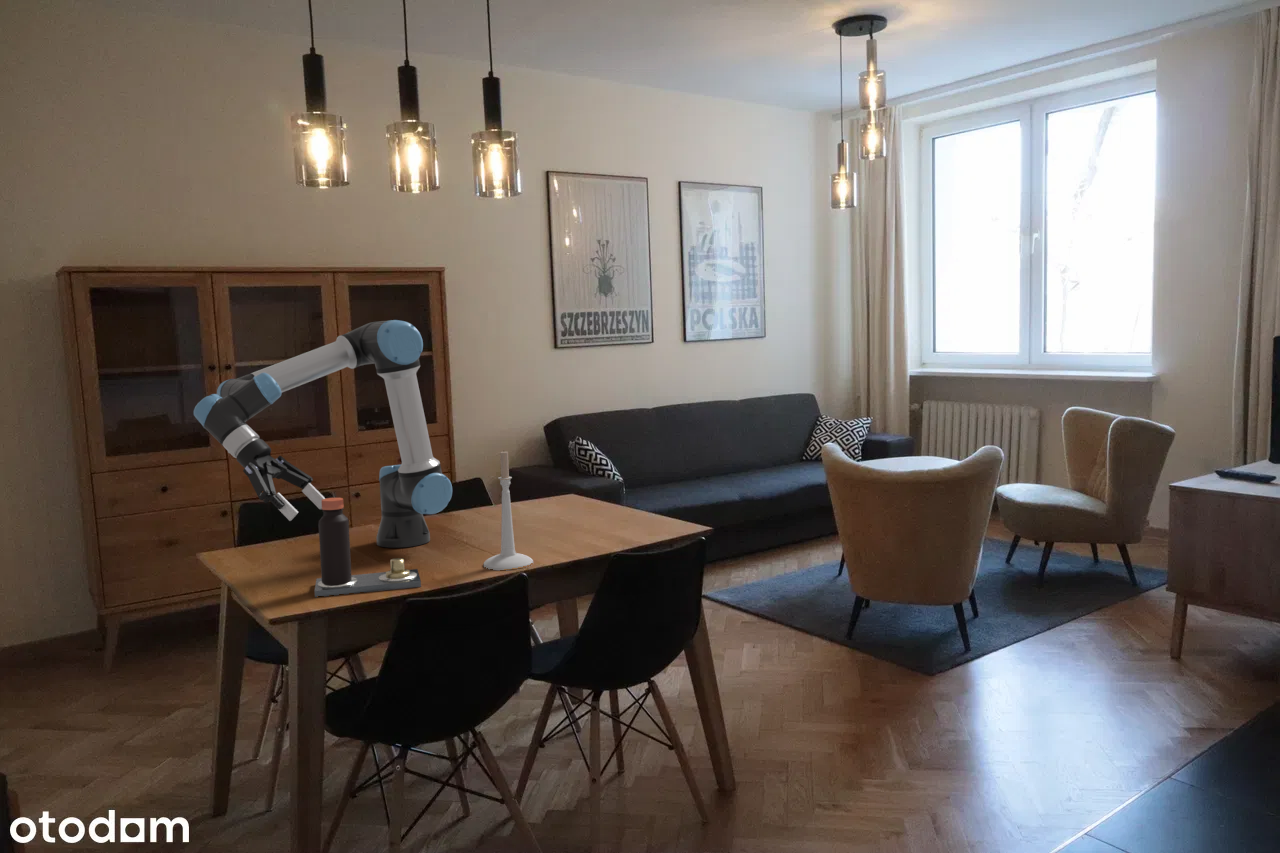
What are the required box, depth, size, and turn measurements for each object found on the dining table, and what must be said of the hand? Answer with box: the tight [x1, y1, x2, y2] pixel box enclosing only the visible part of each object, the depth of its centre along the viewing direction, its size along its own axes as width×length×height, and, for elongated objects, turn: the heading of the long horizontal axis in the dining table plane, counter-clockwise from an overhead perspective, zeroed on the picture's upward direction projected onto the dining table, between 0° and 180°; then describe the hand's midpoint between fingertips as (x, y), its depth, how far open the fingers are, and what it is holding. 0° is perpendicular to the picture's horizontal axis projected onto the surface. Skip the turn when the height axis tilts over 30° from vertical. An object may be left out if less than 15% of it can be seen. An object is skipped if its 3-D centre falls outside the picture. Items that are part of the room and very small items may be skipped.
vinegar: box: [318, 497, 352, 585], centre depth 221 cm, size 7×7×20 cm
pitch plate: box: [314, 557, 422, 598], centre depth 224 cm, size 24×12×6 cm, turn 107°
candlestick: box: [483, 451, 534, 571], centre depth 240 cm, size 13×13×30 cm
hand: (309, 511), depth 221 cm, fingers open, 13 cm apart
